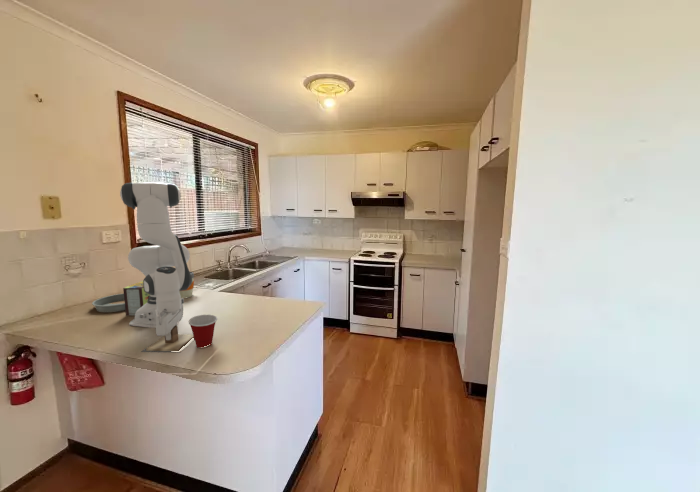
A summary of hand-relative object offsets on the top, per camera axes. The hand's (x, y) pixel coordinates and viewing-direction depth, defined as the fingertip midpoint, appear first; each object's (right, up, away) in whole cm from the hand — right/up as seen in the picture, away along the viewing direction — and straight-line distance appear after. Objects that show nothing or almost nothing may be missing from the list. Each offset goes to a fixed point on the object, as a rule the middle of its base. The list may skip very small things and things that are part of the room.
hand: (171, 336), depth 123 cm
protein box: (-39, +2, +38) cm, 55 cm away
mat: (0, -3, 0) cm, 3 cm away
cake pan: (-59, +3, +46) cm, 75 cm away
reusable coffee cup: (-32, +6, +65) cm, 72 cm away
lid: (0, -3, 0) cm, 3 cm away
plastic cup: (+15, -4, -1) cm, 15 cm away
